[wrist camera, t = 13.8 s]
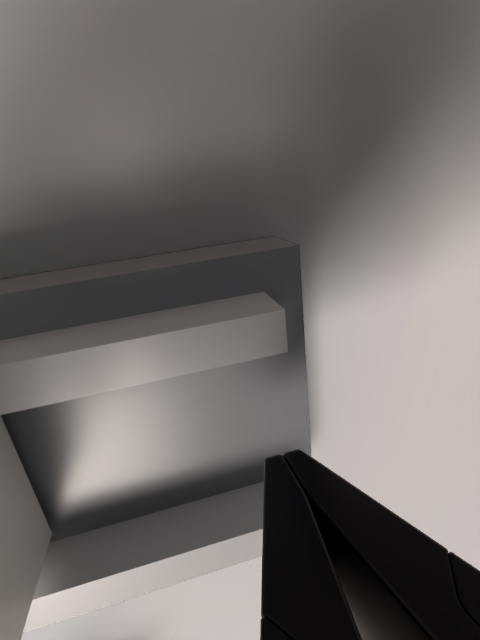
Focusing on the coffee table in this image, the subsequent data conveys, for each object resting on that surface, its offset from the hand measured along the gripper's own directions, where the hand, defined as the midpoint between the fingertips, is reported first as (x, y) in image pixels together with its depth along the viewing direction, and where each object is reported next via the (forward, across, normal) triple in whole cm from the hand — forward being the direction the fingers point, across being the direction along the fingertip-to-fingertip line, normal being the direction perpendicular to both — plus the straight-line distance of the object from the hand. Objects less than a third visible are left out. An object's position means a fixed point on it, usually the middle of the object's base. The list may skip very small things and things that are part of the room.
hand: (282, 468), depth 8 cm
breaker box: (+4, +5, 0) cm, 6 cm away
